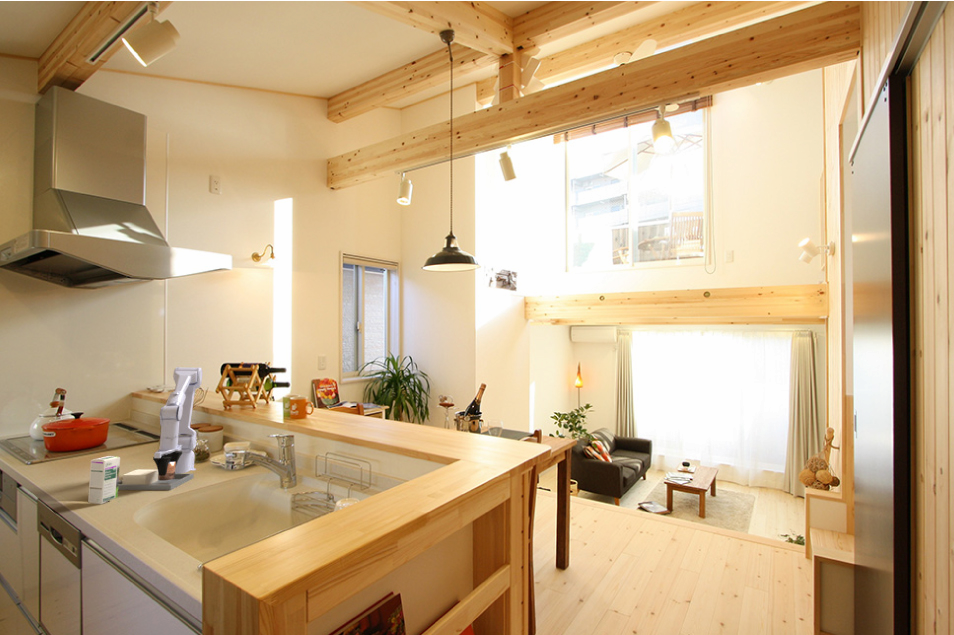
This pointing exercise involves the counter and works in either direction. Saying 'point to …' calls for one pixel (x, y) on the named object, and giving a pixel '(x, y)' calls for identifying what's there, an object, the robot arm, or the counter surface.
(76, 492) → the counter surface
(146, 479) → the plain cream box
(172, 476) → the tin can
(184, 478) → the tray
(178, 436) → the robot arm
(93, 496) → the syrup box
